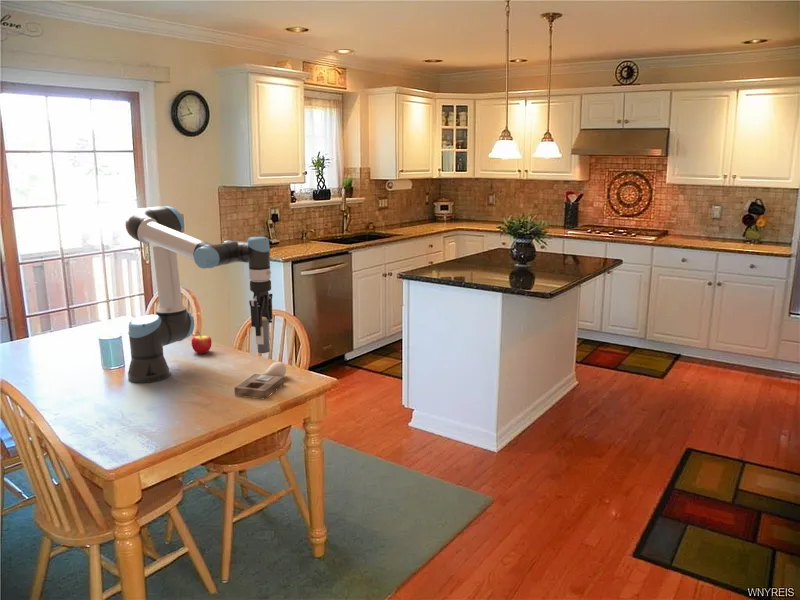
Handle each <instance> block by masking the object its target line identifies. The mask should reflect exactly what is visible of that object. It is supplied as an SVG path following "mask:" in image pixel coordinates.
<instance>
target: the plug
mask: <svg viewBox="0 0 800 600" xmlns="http://www.w3.org/2000/svg"><path fill="white" fill-rule="evenodd" d="M269 325H270V323H269V322H268V319H267V317H262V326H261V327H263V338H264V344H256V345H257V353H259V354H267V353H269V352H270V351H271V350H270V349H271V346H270V340H269Z"/></svg>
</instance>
